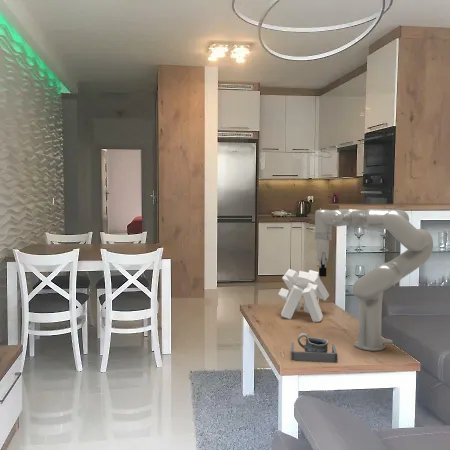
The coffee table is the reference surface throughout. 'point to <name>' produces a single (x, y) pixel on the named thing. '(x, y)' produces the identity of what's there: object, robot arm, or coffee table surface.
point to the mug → (314, 344)
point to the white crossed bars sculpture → (303, 293)
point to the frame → (314, 355)
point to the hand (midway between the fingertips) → (322, 276)
